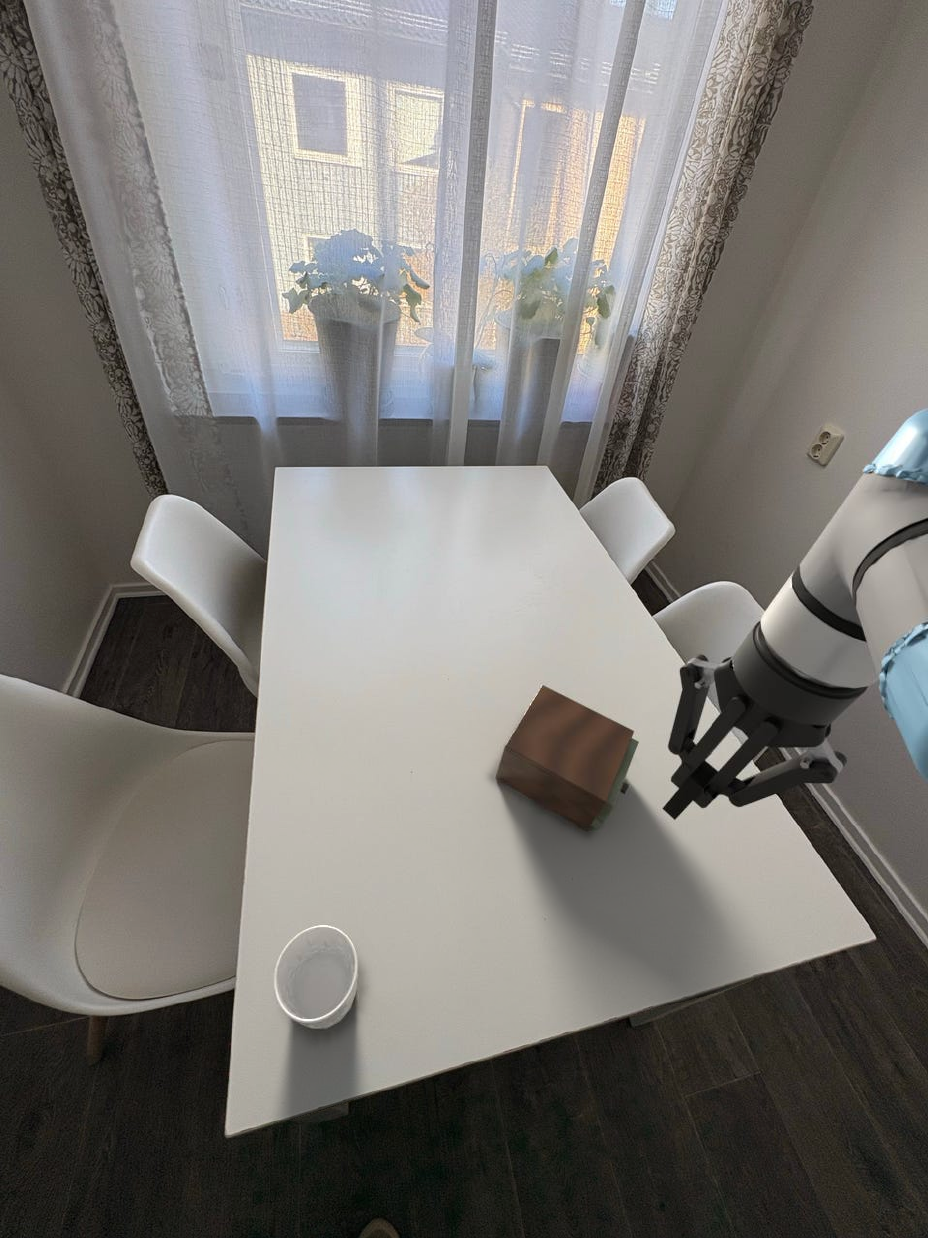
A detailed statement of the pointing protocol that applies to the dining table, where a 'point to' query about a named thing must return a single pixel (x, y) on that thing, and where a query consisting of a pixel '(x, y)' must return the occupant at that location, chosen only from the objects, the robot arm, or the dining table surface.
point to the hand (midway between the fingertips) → (676, 806)
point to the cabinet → (564, 756)
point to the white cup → (317, 977)
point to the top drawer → (617, 785)
